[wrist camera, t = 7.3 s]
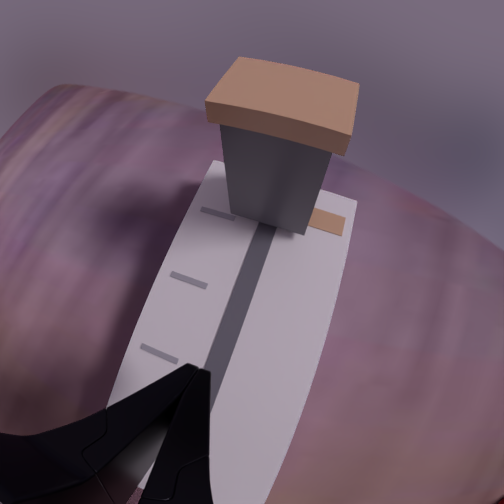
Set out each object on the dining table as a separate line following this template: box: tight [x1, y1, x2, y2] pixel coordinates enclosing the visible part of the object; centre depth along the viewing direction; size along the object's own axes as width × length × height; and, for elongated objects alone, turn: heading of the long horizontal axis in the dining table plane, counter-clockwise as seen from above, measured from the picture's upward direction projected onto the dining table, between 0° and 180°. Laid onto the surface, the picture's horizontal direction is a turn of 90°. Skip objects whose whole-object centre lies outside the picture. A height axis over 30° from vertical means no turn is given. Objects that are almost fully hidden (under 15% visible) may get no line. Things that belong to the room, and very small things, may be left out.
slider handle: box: [205, 57, 359, 235], centre depth 12 cm, size 3×5×8 cm
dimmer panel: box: [106, 160, 357, 504], centre depth 15 cm, size 19×9×3 cm, turn 161°
